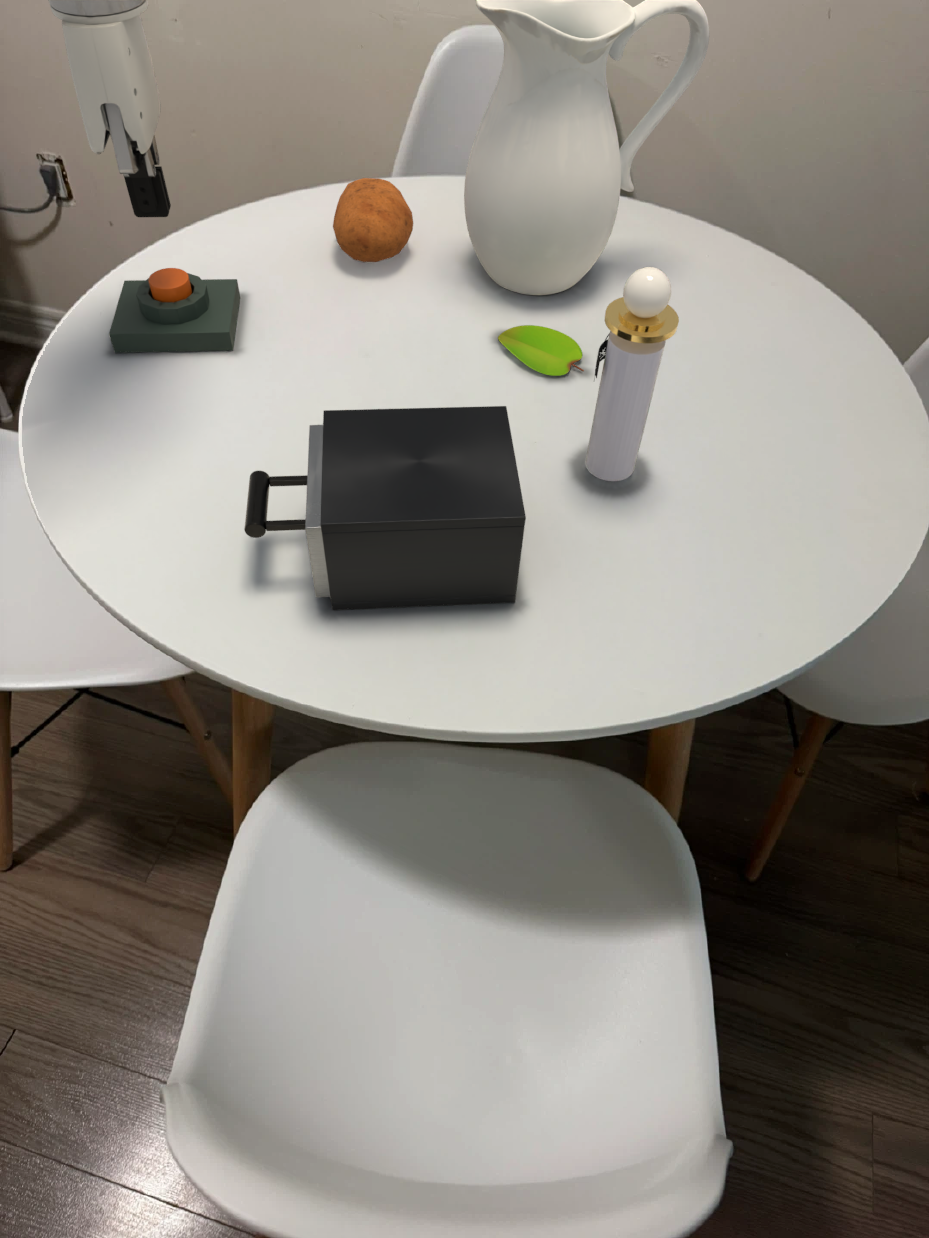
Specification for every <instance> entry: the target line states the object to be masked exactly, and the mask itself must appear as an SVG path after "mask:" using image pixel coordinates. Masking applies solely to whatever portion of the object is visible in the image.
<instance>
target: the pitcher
mask: <svg viewBox="0 0 929 1238" xmlns="http://www.w3.org/2000/svg"><path fill="white" fill-rule="evenodd" d="M475 6H476V7H477V9H478V10H479V12H481V13H482V14H483V16H485V17H486V18H487V19H488V20H489V21H490V22H491V24H492V25H493V26H494V27H495V29H496V30H497V31H498V33H499V35H500V37H501V40H502V43H503V44H502V45H503V59H502V65H501V70H500V72H499V75H498V79H497V80H496V81H497V82H496V84H495V87H494V89H493V91H492V94H491V95H490V96H491V97H490V99H489V101H488V104H487V106H486V108H485V111H484V113H483V115H482V118H481V120H480V122H479V125H478V128H477V131H476V134H475V136H474V139H473V143H472V146H471V149H470V152H469V157H468V159H467V165H466V171H465V177H464V191H463V201H464V203H463V204H464V216H465V222H466V227H467V232H468V236H469V239H470V242H471V245H472V247H473V250H474V252H475V255H476V257H477V259H478V260H479V263H480V265H481V266H482V268H483V269H484V271H485V272H486V274H487V275H488V276H489V278H491V280H492V281H493V282H494V283H496V284H497V285H498V286H500V287H501V288H504V289H506V290H508V291H510V292H515V293H518V294H522V295H528V296H546V295H554V294H557V293H558V294H559V293H561V292H563V291H566V290H568V289H570V288H572V287H574V286H575V285H576V284H578V283H579V282H580V281H581V280H582V279H583V277H585V276H586V274H588V272H589V271H590V270H592V267H594V265H595V263H596V262H597V261H598V260H599V258H600V257H601V255H602V254H603V252H604V250H605V248H606V247H607V245H608V242H609V239H610V238H611V236H612V232H613V229H614V226H615V222H616V219H617V214H618V211H619V204H620V198H621V190H622V191H625V192H629V193H631V192H634V191H635V186H634V183H633V181H632V177H631V167H632V163H633V161H634V158H635V156H636V155H637V153H638V151H639V150H640V148H641V147H642V146H643V145H644V143H645V142H646V140H647V139H648V138H649V137H650V136H651V134H652V133H653V132H654V130H655V129H656V128H657V126H658V125H659V124H660V123H661V122H662V121H663V119H664V118H665V117H667V114H668V113H669V112H670V111H671V110H672V109H673V107H674V106H675V105H676V104H677V102H679V100H680V98H681V97H683V95H684V93H686V91H687V89H688V88H689V87H690V86H691V84H692V83H693V81H694V80H695V78H696V77H697V76H698V74H699V72H700V70H701V68H702V65H703V63H704V61H705V58H706V55H707V52H708V48H709V45H710V24H709V20H708V16H707V12H705V9H704V8H703V6H702V5H701V4H700V2H699V1H698V0H643V1H641V2H639V3H638V4H637V5H635V6H632V5H631V4H629V3H627V2H626V1H624V0H475ZM666 15H680V16H683V17H684V18H685V19H686V20H687V22H688V24H689V38H688V44H687V47H686V51H685V53H684V56H683V59H682V61H681V63H680V65H679V67H678V69H677V71H676V72H675V74H674V76H673V77H672V79H671V81H670V82H669V83H668V85H667V86H666V87H665V89H664V90H663V91H662V93H661V94H660V96H659V97H658V98H657V100H656V101H655V102H654V103H653V104H652V106H651V107H650V108H649V110H648V111H647V112H646V113H645V115H644V116H643V117H642V118H641V120H640V121H639V122H638V123H637V125H635V127H634V129H633V130H632V131H631V132H630V133H629V134H628V136H627V137H626V138H625V140H624V141H623V143H622V144H621V146H620V143H619V137H618V136H619V135H618V131H617V125H616V121H615V117H614V113H613V108H612V103H611V99H610V94H609V89H608V83H607V82H608V81H607V64H608V58H609V57H610V58H611V59H612V60H614V61H617V62H620V61H621V60H622V58H623V56H624V52H625V48H626V46H627V44H628V42H629V41H630V39H631V38H632V37H633V36H634V35H635V34H636V33H637V32H638V31H639V30H640V29H642V28H643V27H644V26H646V25H647V24H649V23H650V22H652V21H654V20H656V19H658V18H660V17H663V16H666Z"/></svg>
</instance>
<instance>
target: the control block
mask: <svg viewBox="0 0 929 1238" xmlns="http://www.w3.org/2000/svg"><path fill="white" fill-rule="evenodd" d="M186 273H187V274H188V276H189V280H190V284H191V289H192V294H191V295H190V296H189V297H187V298H186V299H183V300H180V301H177V302H160V301H157V300H155V299H154V298H153V296H152V292H151V289H150V285H149V277H147V279H140V280H139V279H138V280H137V279H136V280H135V279H133V280H132V279H131V280H130V279H129V280H124V281H123V285H122V288H121V291H120V295H119V298H118V301H117V304H116V308H115V312H114V315H113V319H112V322H111V325H110V329H109V333H108V336H109V339H110V342H111V345H112V348H113V352H114V353H117V354H119V353H121V354H122V353H166V352H167V353H168V352H169V353H171V352H173V353H174V352H217V351H218V352H221V351H224V352H225V351H234V346H235V338H236V332H237V324H238V317H239V309H240V303H241V292H240V288H239V282H238V279H237V278H223V279H221V278H217V279H211V278H209V279H208V278H207V279H202V278H201V277H200V276H198V275H196V274H192V273H189V272H186Z"/></svg>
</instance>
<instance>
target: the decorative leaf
mask: <svg viewBox="0 0 929 1238" xmlns="http://www.w3.org/2000/svg"><path fill="white" fill-rule="evenodd" d="M497 340H498V342H500V343H501V345H502V346H503V347H504V348H506V350H508V351H509V352H510V354H512V355H513V356H514V357H515V358H516V359H518V360H519V361H520V362H521V363H523V364H524V365H525V366H527V367H528V368H530V369H532V370H533V371H535V372H537V373H540V374H543V375H547V376H553V377H557V376H559V377H561V376H564V375H566V374H568V373H569V372H570V371H571V367H574V368H575V369H577V370H579V371H581V372H585V370H584V369H583V368H582V367H579V366H578V365H576V364H575V363H578V362H579V361H581V360H582V358H583V356H584V355H583V351H582V348H581V346H580V345H579V343H577V341H576V340H575V339H573V338H572V337H571V336H569V335H567V334H566V333H563V332H561V331H559V330H556V329H553V328H551V327H547V326H541V325H533V324H526V325H524V324H523V325H516V326H513V327H510V328H508V329H506V330H504V331H502V332H501V333H500V334H499V335H498V336H497Z"/></svg>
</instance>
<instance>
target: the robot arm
mask: <svg viewBox="0 0 929 1238" xmlns="http://www.w3.org/2000/svg"><path fill="white" fill-rule="evenodd" d="M48 4H49V7H50V11H51V13H52V15H53V16H54V17H56V19H59V20H61V26H62V27H61V28H62V35H63V39H64V45H65V51H66V57H67V62H68V66H69V70H70V74H71V79H72V83H73V87H74V91H75V95H76V101H77V103H78V107H79V112H80V116H81V119H82V123H83V126H84V127H83V128H84V132H85V134H86V138H87V139H86V140H87V142H88V146H89V148H90V150H91V151H92V153H94V154H95V155H101V154H102V153H104V152H105V149H106V147H107V144H108V141H109V139H110V140H111V142H112V145H113V151H114V154H115V160H116V164H117V169H118V172H119V174H120V175H122V177H123V178H124V182H125V186H126V190H127V193H128V197H129V200H130V205H131V208H132V212H133V215H134V216H135V217H137V218H167V217H169V215H170V214H169V213H170V210H171V206H172V205H171V200H170V197H169V196H170V195H169V191H168V187H167V183H166V179H165V174H164V171H163V167H162V166H160V163H161V162H160V154H159V150H158V149H159V148H158V145H157V141H156V135H155V134H156V131H157V128H158V123H159V119H160V116H161V107H162V106H161V104H162V103H161V98H160V97H161V96H160V92H159V91H160V90H159V86H158V81H157V75H156V72H155V68H154V63H153V59H152V55H151V52H150V47H149V43H148V39H147V35H146V31H145V28H144V24H143V19H142V16H141V14H143V13H145V12H146V11H147V10H148V8H149V6H150V5H149V0H48Z"/></svg>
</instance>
